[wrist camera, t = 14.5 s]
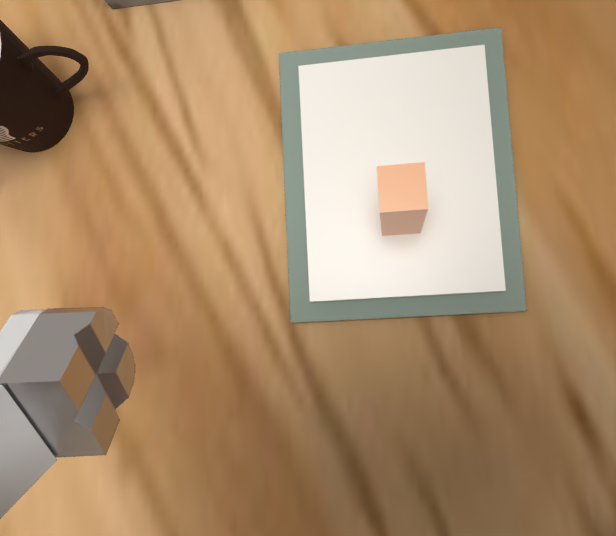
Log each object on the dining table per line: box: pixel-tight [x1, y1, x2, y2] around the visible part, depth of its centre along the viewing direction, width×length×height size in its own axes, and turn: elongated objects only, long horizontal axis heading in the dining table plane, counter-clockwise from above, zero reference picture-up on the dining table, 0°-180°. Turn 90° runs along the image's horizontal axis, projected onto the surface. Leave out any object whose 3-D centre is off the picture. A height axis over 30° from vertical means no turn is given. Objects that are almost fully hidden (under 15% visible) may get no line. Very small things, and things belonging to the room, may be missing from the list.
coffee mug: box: [0, 20, 88, 152], centre depth 40 cm, size 12×9×10 cm
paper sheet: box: [298, 45, 506, 302], centre depth 36 cm, size 17×13×9 cm
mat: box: [279, 27, 527, 323], centre depth 40 cm, size 20×16×1 cm
